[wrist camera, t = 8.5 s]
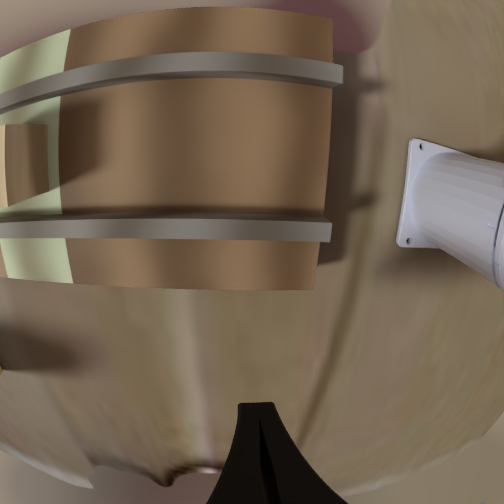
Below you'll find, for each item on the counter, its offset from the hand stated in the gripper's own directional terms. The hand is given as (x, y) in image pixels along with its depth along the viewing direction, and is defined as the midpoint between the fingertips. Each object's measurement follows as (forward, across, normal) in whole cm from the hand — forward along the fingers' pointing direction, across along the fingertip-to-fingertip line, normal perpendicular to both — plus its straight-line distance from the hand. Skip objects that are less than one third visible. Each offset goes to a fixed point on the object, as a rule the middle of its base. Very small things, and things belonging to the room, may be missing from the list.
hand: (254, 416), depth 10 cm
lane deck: (+10, +12, -10) cm, 19 cm away
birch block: (+7, +14, -10) cm, 19 cm away
